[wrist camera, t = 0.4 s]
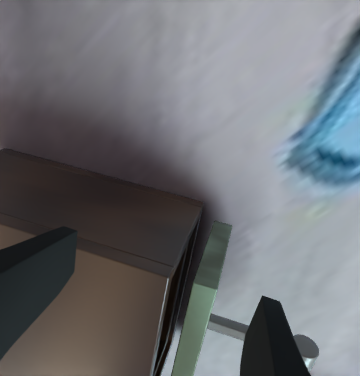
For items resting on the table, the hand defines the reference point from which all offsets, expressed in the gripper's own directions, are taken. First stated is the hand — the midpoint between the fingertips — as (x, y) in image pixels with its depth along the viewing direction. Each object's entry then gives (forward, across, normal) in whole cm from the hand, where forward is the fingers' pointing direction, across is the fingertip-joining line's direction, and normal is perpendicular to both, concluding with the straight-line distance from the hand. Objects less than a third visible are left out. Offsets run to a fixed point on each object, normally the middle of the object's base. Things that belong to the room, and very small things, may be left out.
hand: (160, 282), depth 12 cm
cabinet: (+10, +8, +8) cm, 15 cm away
